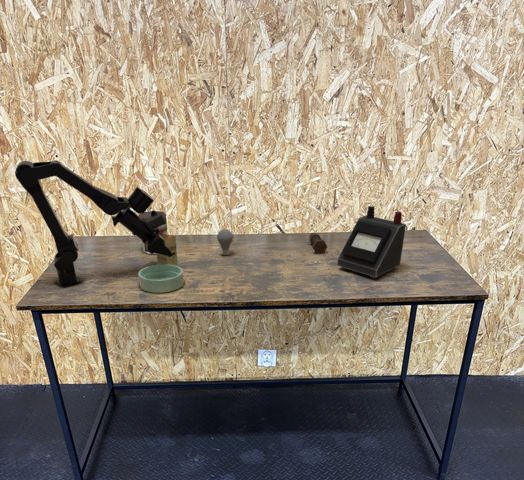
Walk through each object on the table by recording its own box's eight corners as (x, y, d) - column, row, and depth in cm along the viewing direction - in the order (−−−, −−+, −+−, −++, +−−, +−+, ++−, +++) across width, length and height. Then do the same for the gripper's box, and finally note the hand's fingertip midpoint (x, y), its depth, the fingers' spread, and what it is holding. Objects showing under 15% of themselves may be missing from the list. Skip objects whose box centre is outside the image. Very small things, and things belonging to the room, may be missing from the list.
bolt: (314, 245, 206) (321, 256, 193) (304, 239, 204) (310, 250, 191) (322, 233, 203) (329, 243, 190) (312, 227, 202) (318, 237, 189)
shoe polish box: (177, 269, 177) (175, 236, 171) (168, 273, 174) (165, 239, 167) (167, 266, 179) (164, 233, 173) (158, 270, 176) (154, 237, 170)
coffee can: (174, 250, 195) (171, 214, 188) (151, 256, 189) (147, 219, 182) (160, 244, 202) (157, 209, 194) (138, 249, 196) (133, 214, 188)
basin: (131, 285, 166) (129, 272, 163) (166, 273, 175) (164, 261, 172) (157, 297, 157) (156, 284, 155) (192, 284, 166) (191, 271, 164)
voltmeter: (336, 269, 178) (340, 213, 168) (361, 257, 188) (367, 204, 178) (374, 281, 168) (382, 223, 158) (399, 268, 179) (407, 213, 168)
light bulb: (225, 251, 194) (224, 226, 189) (236, 254, 191) (236, 229, 186) (214, 255, 190) (213, 229, 185) (226, 258, 187) (225, 232, 182)
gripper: (154, 212, 156) (190, 243, 165) (146, 198, 171) (180, 227, 180) (131, 239, 158) (169, 268, 167) (126, 223, 173) (160, 250, 182)
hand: (170, 252), depth 174 cm, fingers closed on shoe polish box, 7 cm apart
